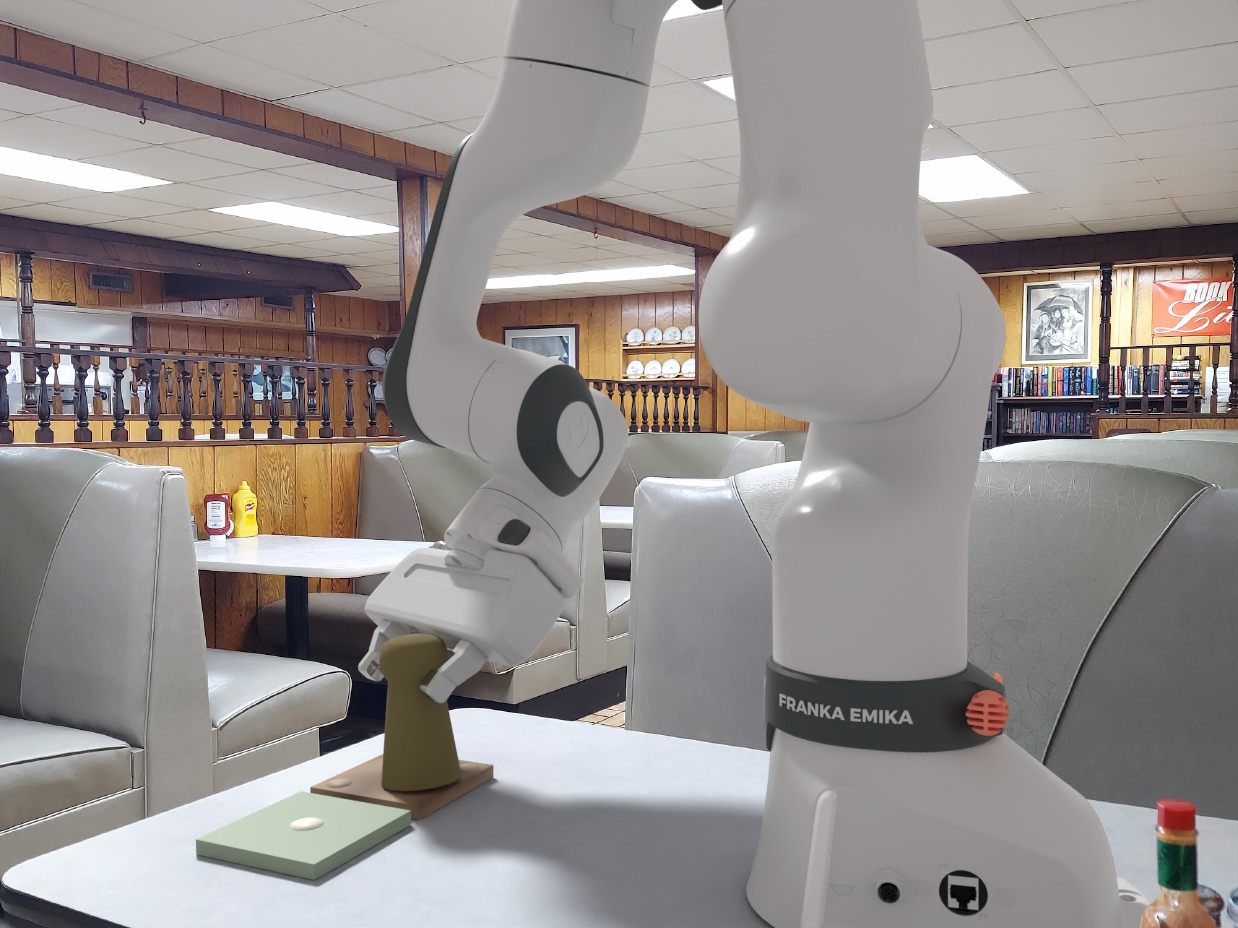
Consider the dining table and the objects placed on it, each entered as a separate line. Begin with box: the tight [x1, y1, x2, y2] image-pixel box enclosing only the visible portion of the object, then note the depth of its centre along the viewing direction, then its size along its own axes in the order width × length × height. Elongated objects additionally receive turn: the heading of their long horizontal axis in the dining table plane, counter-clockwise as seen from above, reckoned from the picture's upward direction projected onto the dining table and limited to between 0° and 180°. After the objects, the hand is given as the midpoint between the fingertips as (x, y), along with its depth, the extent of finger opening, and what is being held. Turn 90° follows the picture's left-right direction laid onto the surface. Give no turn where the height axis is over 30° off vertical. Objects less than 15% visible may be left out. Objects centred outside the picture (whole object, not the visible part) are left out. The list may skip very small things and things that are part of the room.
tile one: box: [195, 790, 412, 881], centre depth 72 cm, size 10×10×1 cm
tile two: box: [309, 753, 495, 821], centre depth 82 cm, size 10×10×1 cm
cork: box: [379, 634, 461, 791], centre depth 80 cm, size 6×6×11 cm
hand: (396, 686), depth 81 cm, fingers open, 8 cm apart
